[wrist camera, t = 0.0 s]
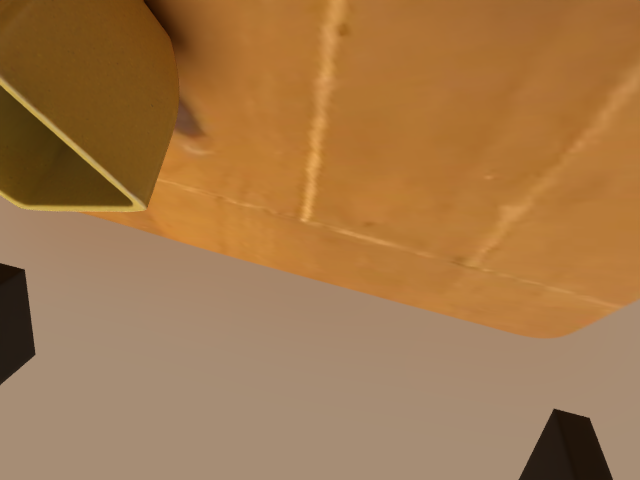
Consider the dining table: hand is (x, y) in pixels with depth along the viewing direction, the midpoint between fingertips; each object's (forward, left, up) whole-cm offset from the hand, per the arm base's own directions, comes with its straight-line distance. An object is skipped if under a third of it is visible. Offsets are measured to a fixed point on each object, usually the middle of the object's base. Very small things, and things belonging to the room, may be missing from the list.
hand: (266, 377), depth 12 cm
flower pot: (+3, -13, -15) cm, 21 cm away
